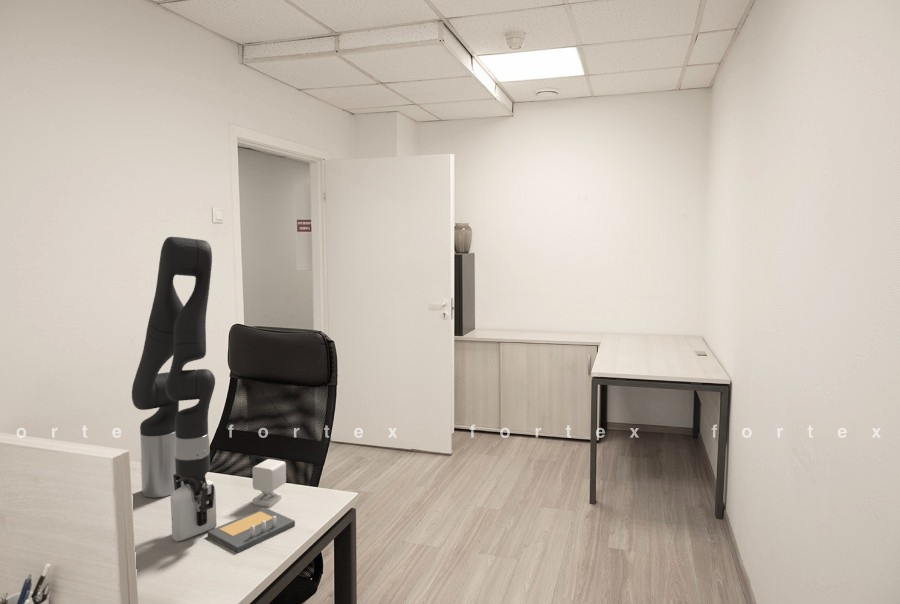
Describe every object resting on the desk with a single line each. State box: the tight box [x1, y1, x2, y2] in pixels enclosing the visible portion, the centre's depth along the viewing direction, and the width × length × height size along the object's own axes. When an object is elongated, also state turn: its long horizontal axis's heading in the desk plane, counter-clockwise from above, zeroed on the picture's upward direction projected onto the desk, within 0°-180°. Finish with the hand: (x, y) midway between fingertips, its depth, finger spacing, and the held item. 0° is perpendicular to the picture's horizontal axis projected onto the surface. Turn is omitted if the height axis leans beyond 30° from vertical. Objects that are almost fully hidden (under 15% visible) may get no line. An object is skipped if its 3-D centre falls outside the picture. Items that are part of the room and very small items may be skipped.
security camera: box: [252, 458, 287, 508], centre depth 157 cm, size 6×7×10 cm
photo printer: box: [170, 479, 218, 542], centre depth 138 cm, size 10×4×12 cm, turn 140°
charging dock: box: [207, 506, 296, 553], centre depth 140 cm, size 12×16×4 cm
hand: (194, 520), depth 138 cm, fingers open, 6 cm apart
